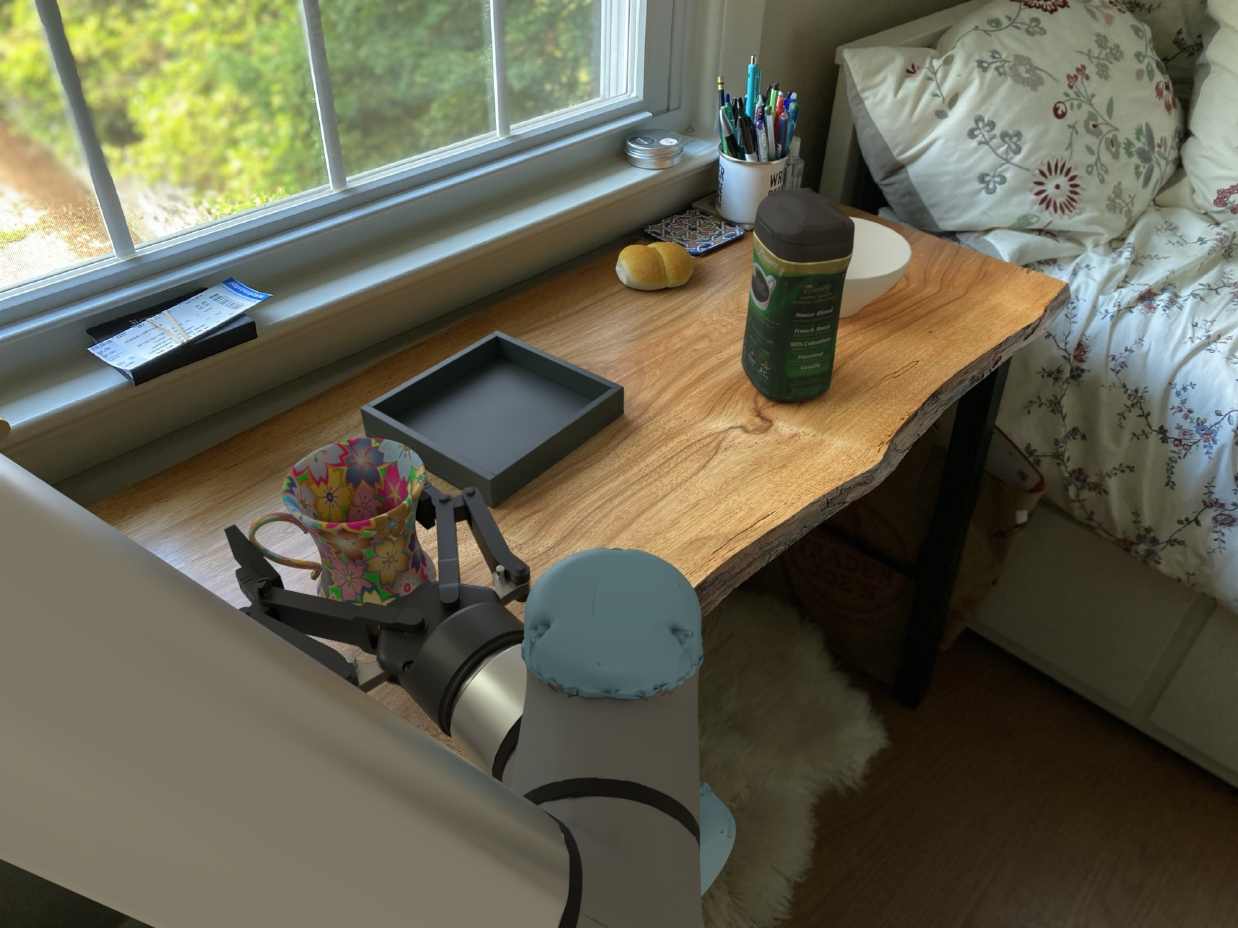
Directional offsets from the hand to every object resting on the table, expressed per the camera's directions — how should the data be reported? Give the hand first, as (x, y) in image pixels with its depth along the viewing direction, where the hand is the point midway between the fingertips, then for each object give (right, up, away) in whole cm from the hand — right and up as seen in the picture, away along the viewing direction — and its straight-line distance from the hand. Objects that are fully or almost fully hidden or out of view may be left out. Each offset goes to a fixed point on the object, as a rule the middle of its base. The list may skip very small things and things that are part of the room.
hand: (310, 504), depth 66 cm
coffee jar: (+38, +11, +27) cm, 49 cm away
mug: (+3, -7, +2) cm, 8 cm away
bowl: (+46, +21, +40) cm, 64 cm away
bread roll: (+26, +25, +45) cm, 57 cm away
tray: (+10, +7, +21) cm, 25 cm away
